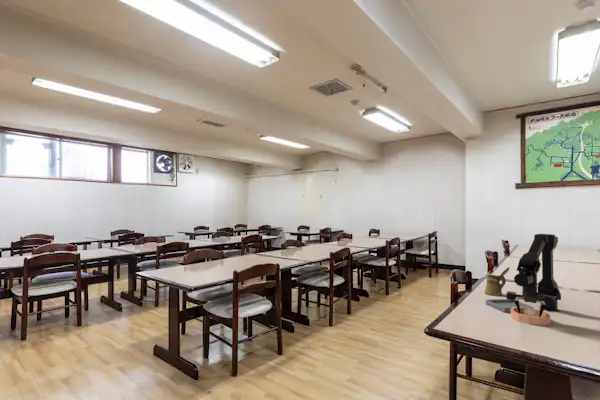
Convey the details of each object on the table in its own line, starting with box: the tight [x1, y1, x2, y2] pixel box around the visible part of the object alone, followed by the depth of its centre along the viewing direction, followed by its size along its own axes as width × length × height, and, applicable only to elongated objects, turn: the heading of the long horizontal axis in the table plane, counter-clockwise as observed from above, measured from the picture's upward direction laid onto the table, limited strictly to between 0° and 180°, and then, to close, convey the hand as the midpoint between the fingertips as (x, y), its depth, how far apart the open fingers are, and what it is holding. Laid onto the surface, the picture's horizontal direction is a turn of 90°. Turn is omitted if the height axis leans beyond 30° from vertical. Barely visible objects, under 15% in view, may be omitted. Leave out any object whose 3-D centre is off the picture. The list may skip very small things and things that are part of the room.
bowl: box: [509, 307, 551, 326], centre depth 154 cm, size 15×15×4 cm
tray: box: [485, 298, 534, 314], centre depth 171 cm, size 16×14×2 cm
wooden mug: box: [484, 266, 510, 297], centre depth 196 cm, size 9×14×18 cm, turn 38°
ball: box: [523, 306, 536, 317], centre depth 154 cm, size 5×5×5 cm
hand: (529, 316), depth 154 cm, fingers open, 7 cm apart
